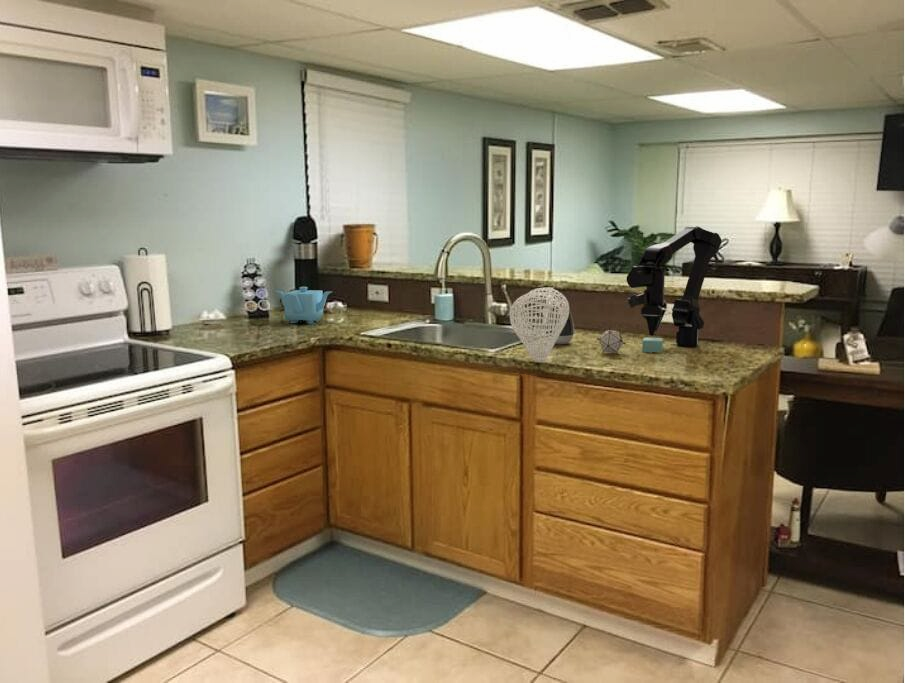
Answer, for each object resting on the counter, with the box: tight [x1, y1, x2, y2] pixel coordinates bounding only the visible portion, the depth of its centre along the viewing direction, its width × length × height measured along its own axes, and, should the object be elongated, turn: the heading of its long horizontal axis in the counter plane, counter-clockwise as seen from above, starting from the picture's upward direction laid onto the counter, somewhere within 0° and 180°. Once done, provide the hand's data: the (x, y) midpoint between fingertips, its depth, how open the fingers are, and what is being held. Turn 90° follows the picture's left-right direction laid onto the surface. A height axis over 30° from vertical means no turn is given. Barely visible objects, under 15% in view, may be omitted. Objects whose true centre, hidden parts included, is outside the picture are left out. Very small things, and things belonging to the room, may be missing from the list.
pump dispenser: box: [545, 301, 575, 345], centre depth 269 cm, size 10×10×15 cm
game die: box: [596, 327, 627, 355], centre depth 252 cm, size 9×8×10 cm
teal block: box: [641, 337, 664, 354], centre depth 256 cm, size 6×6×4 cm
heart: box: [509, 287, 570, 363], centre depth 237 cm, size 28×16×22 cm, turn 163°
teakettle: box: [274, 286, 333, 325], centre depth 322 cm, size 19×19×15 cm
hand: (653, 333), depth 255 cm, fingers open, 9 cm apart
